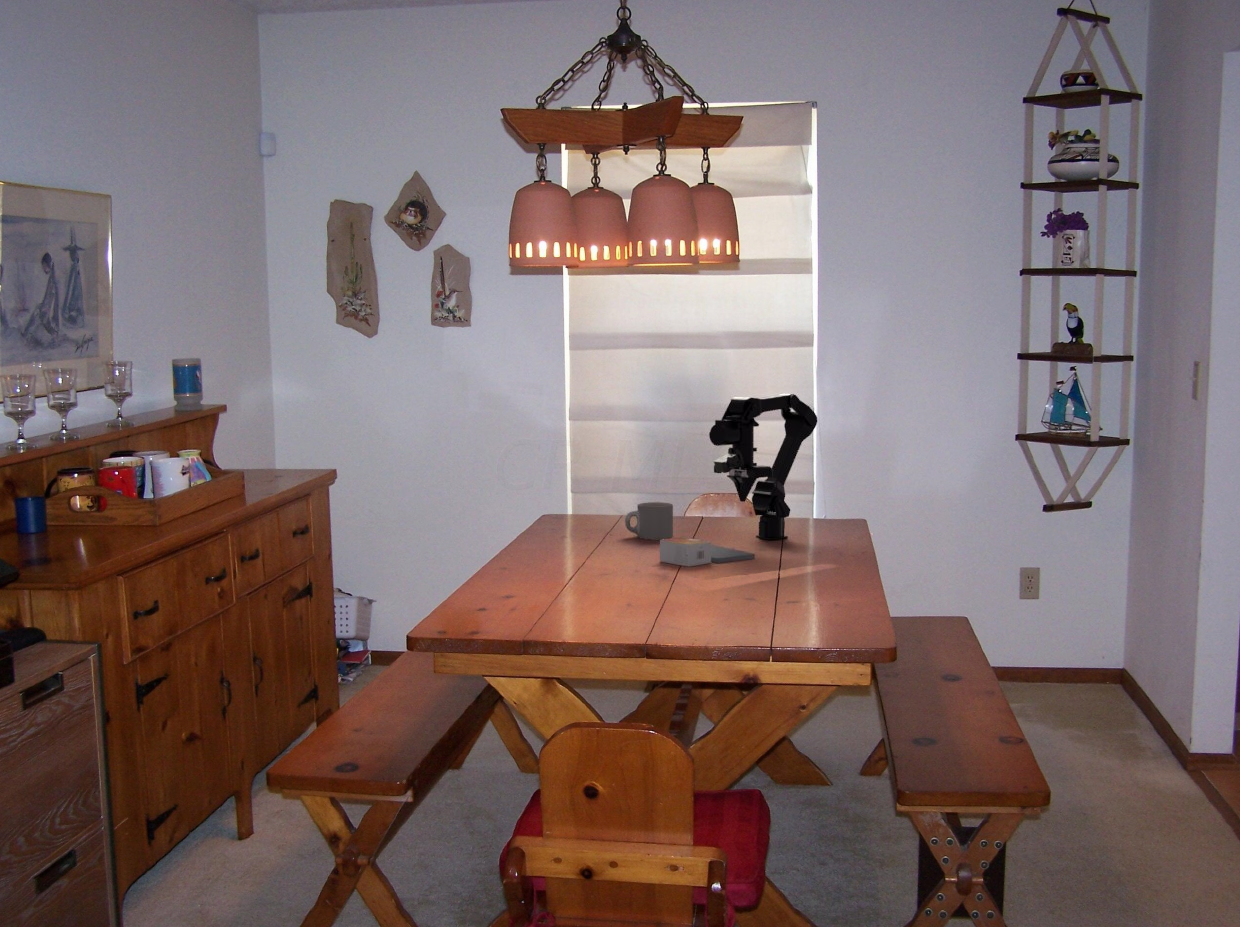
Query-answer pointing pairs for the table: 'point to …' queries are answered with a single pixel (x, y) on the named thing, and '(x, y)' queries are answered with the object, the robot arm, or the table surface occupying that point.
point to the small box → (685, 551)
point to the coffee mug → (652, 520)
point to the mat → (728, 554)
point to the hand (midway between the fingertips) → (742, 501)
